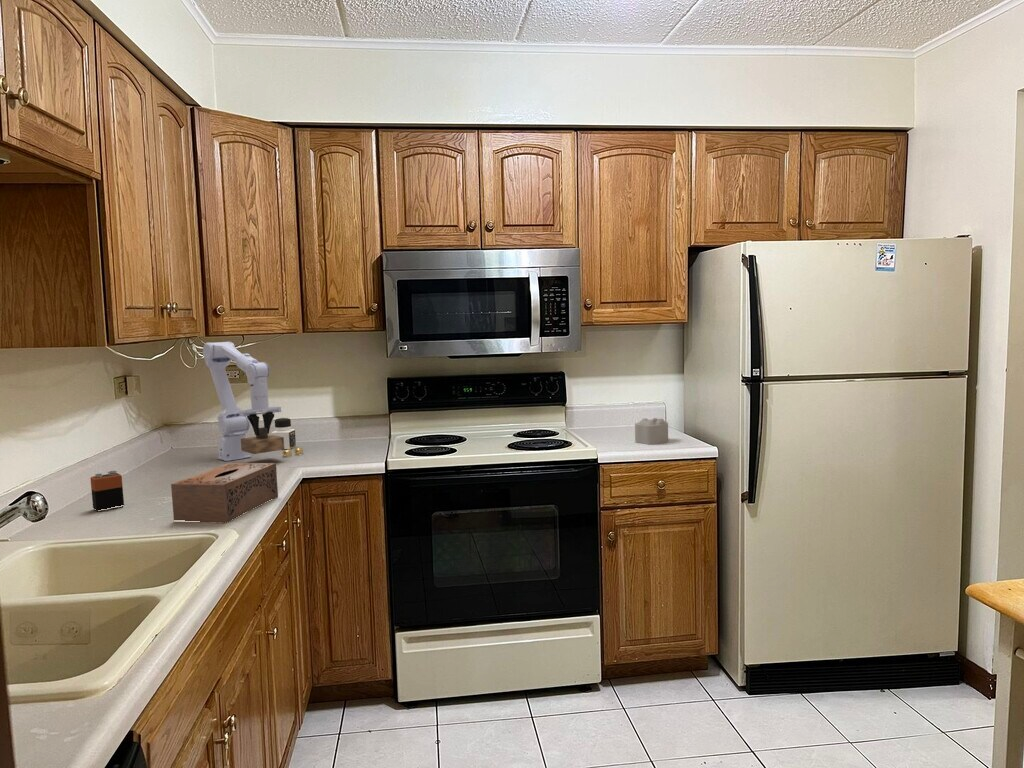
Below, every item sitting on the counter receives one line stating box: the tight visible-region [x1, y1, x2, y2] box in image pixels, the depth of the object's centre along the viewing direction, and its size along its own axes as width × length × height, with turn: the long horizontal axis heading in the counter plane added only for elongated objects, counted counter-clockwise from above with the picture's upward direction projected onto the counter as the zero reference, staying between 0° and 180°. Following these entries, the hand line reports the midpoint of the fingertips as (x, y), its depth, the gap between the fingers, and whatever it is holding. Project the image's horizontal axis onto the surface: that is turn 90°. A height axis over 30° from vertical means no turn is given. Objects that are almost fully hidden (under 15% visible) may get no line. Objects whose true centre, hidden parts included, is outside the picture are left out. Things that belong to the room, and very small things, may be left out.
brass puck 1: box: [281, 449, 293, 458], centre depth 260 cm, size 3×3×2 cm
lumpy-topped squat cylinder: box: [634, 417, 669, 446], centre depth 265 cm, size 10×13×9 cm
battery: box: [89, 470, 125, 511], centre depth 191 cm, size 4×7×10 cm, turn 133°
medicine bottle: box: [271, 417, 297, 450], centre depth 278 cm, size 7×7×12 cm
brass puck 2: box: [293, 447, 304, 456], centre depth 263 cm, size 3×3×2 cm
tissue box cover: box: [170, 462, 279, 524], centre depth 186 cm, size 26×14×10 cm, turn 171°
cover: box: [241, 426, 284, 455], centre depth 250 cm, size 11×11×8 cm
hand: (262, 434), depth 249 cm, fingers closed on cover, 3 cm apart
